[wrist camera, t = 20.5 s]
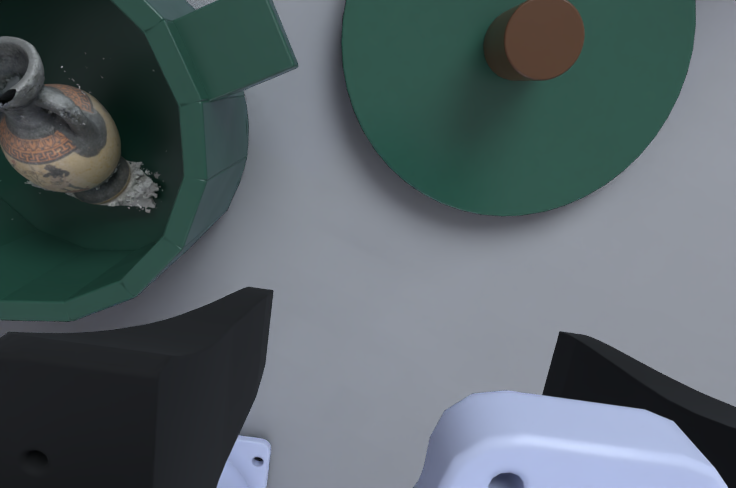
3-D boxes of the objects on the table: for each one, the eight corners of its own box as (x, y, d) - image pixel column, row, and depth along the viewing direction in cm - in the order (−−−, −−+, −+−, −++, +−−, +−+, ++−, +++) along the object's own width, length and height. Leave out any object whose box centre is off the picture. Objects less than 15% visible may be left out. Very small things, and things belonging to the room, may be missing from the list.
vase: (30, 34, 20) (-107, 15, 14) (179, 63, 20) (104, 56, 15) (28, 179, 22) (-97, 215, 16) (167, 204, 22) (94, 248, 16)
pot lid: (711, 142, 21) (791, 157, 17) (410, 253, 23) (418, 291, 19) (634, -212, 18) (711, -298, 14) (289, -59, 20) (267, -96, 15)
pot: (357, 180, 22) (353, 215, 16) (-6, 321, 24) (-124, 396, 18) (235, -127, 19) (177, -215, 13) (-170, 61, 21) (-372, 54, 15)
